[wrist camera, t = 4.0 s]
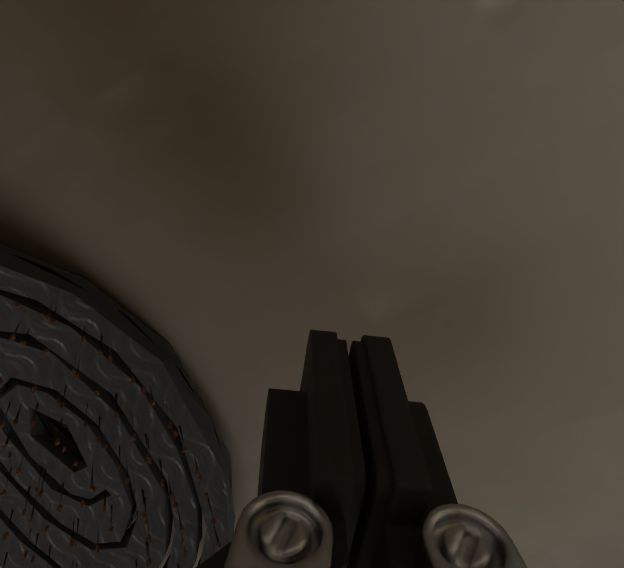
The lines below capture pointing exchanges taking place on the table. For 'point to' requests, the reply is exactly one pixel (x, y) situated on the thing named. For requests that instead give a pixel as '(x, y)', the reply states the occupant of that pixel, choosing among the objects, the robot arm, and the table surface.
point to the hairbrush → (99, 433)
